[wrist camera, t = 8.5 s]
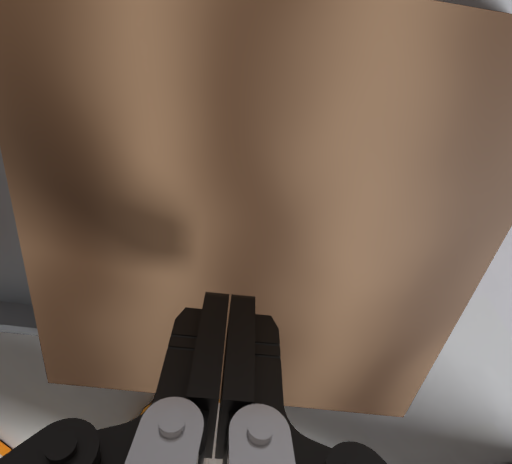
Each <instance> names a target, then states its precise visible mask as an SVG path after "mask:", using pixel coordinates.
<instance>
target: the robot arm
mask: <svg viewBox="0 0 512 464" xmlns="http://www.w3.org/2000/svg"><path fill="white" fill-rule="evenodd" d="M228 303H229V294H224V293H214V292H205V297H204V302H203V307H202V309H198V308H187V307H185V308H184V310H183V311H182V312H181V313H180V314H179V315H178V316H177V318H176V319H175V321H174V325H173V329H172V333H171V337H170V340H169V344H168V349H167V351H166V355H165V359H164V363H163V367H162V370H161V374H160V378H159V382H158V386H157V389H156V393H155V396H154V399H153V401H152V403H151V404H150V406H149V407H148V408H147V410H146V411H145V412H144V413H142V414H141V415H140V416H139V417H137V418H135V419H134V420H132V421H130V422H127V423H125V424H121V425H117V426H113V427H109V428H104V429H100V430H96V429H95V427H94V426H93V425H92V424H91V423H89V422H87V421H86V420H82V419H78V418H68V419H62V420H59V421H56V422H54V423H52V424H50V425H48V426H46V427H45V428H43V429H42V430H40V431H39V432H37V433H36V434H34V435H33V436H32V437H30V438H29V439H27V440H26V441H24V442H23V443H21V444H20V445H19V446H17V447H16V448H14V449H13V450H11V451H10V452H8V453H7V454H5V455H4V456H3V457H1V458H0V464H203V463H204V458H211V459H212V453H213V445H214V436H215V428H216V420H217V412H218V403H219V394H220V384H221V374H222V364H223V354H224V344H225V334H226V324H227V313H228ZM280 357H281V354H280V338H279V328H278V327H277V325H276V323H275V321H274V320H273V318H272V316H270V315H260V314H255V296H245V295H235V294H231V302H230V310H229V319H228V327H227V335H226V345H225V355H224V365H223V375H222V386H221V396H220V407H219V417H218V428H217V438H216V448H215V459H223V463H222V464H387V463H386V462H385V461H384V460H383V459H382V458H381V457H380V456H379V455H378V454H377V453H376V452H375V451H373V450H372V449H370V448H369V447H367V446H365V445H363V444H360V443H357V442H342V443H339V444H337V445H336V446H334V447H333V448H329V447H327V446H325V445H322V444H320V443H318V442H315V441H313V440H311V439H309V438H307V437H305V436H303V435H302V434H300V433H299V432H298V431H297V430H296V429H295V428H294V427H293V426H292V424H291V423H290V421H289V420H288V418H287V416H286V413H285V410H284V400H283V385H282V369H281V359H280Z"/></svg>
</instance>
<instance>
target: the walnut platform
mask: <svg viewBox="0 0 512 464" xmlns="http://www.w3.org/2000/svg"><path fill="white" fill-rule="evenodd" d="M0 148H1V153H2V158H3V163H4V168H5V173H6V178H7V183H8V188H9V193H10V197H11V202H12V207H13V212H14V217H15V222H16V227H17V232H18V237H19V242H20V247H21V252H22V256H23V261H24V266H25V271H26V276H27V281H28V286H29V291H30V296H31V301H32V306H33V310H34V315H35V320H36V325H37V330H38V335H39V340H40V345H41V350H42V355H43V360H44V364H45V369H46V374H47V379H48V383H56V384H66V385H76V386H87V387H97V388H107V389H117V390H128V391H138V392H148V393H156V389H157V386H158V382H159V378H160V374H161V370H162V367H163V363H164V359H165V355H166V351H167V349H168V344H169V340H170V337H171V333H172V329H173V325H174V321H175V319H176V318H177V316H178V315H179V314H180V313H181V312H182V311H183V310H184V308H185V307H187V308H198V309H202V307H203V302H204V297H205V292H214V293H224V294H229V303H228V313H227V324H226V334H225V344H224V354H223V364H222V374H221V384H220V394H219V399H220V396H221V386H222V375H223V365H224V355H225V345H226V335H227V327H228V319H229V310H230V302H231V294H235V295H245V296H255V314H260V315H270V316H272V318H273V320H274V321H275V323H276V325H277V327H278V328H279V338H280V354H281V357H280V359H281V369H282V385H283V400H284V406H292V407H303V408H313V409H323V410H333V411H344V412H354V413H364V414H375V415H385V416H395V417H404V415H405V413H406V412H407V410H408V408H409V406H410V405H411V403H412V401H413V399H414V397H415V396H416V394H417V392H418V390H419V389H420V387H421V385H422V383H423V382H424V380H425V378H426V376H427V374H428V373H429V371H430V369H431V367H432V366H433V364H434V362H435V360H436V359H437V357H438V355H439V353H440V351H441V350H442V348H443V346H444V344H445V343H446V341H447V339H448V337H449V336H450V334H451V332H452V330H453V328H454V327H455V325H456V323H457V321H458V320H459V318H460V316H461V314H462V313H463V311H464V309H465V307H466V306H467V304H468V302H469V300H470V298H471V297H472V295H473V293H474V291H475V290H476V288H477V286H478V284H479V283H480V281H481V279H482V277H483V275H484V274H485V272H486V270H487V268H488V267H489V265H490V263H491V261H492V260H493V258H494V256H495V254H496V252H497V251H498V249H499V247H500V245H501V244H502V242H503V240H504V238H505V237H506V235H507V233H508V231H509V229H510V228H511V226H512V14H509V13H504V12H498V11H492V10H487V9H481V8H475V7H470V6H464V5H458V4H452V3H447V2H441V1H435V0H0Z"/></svg>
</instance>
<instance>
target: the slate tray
mask: <svg viewBox="0 0 512 464" xmlns="http://www.w3.org/2000/svg"><path fill="white" fill-rule="evenodd" d="M0 332H8V333H17V334H27V335H36V336H39V335H38V330H37V325H36V320H35V315H34V310H33V306H32V301H31V296H30V291H29V286H28V281H27V276H26V271H25V266H24V261H23V256H22V252H21V247H20V242H19V237H18V232H17V227H16V222H15V217H14V212H13V207H12V202H11V197H10V193H9V188H8V183H7V178H6V173H5V168H4V163H3V158H2V153H1V148H0Z"/></svg>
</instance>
